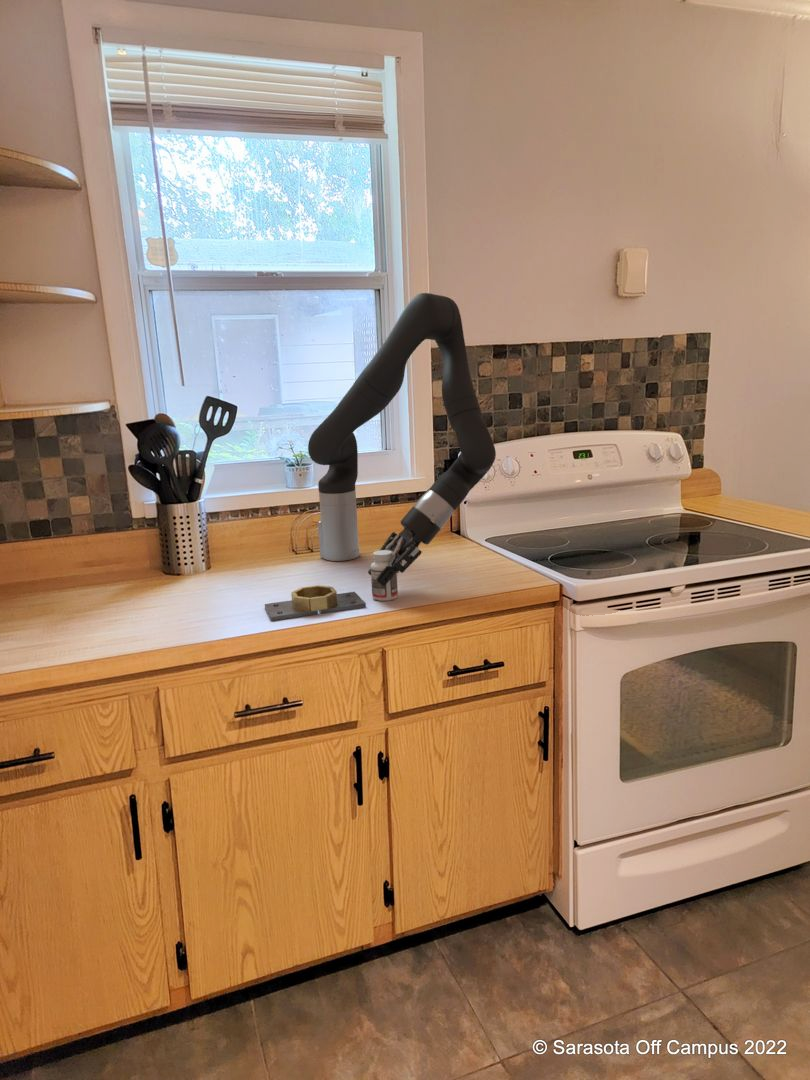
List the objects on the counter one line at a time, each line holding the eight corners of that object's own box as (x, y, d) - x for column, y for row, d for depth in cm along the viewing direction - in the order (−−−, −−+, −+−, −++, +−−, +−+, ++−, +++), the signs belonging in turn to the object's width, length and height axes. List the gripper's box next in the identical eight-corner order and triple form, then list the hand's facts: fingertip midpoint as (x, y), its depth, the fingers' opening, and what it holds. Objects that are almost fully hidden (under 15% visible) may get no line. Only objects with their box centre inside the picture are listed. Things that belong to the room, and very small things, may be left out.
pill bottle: (391, 592, 155) (389, 547, 152) (402, 598, 150) (400, 553, 148) (368, 596, 152) (365, 551, 150) (378, 603, 148) (376, 557, 145)
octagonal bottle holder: (271, 621, 140) (269, 604, 139) (264, 607, 148) (263, 592, 147) (365, 607, 146) (365, 591, 145) (354, 595, 154) (353, 580, 153)
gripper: (404, 500, 156) (353, 560, 155) (427, 511, 142) (372, 577, 142) (428, 521, 159) (378, 581, 158) (453, 534, 145) (399, 599, 144)
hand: (375, 579), depth 150 cm, fingers closed on pill bottle, 5 cm apart
